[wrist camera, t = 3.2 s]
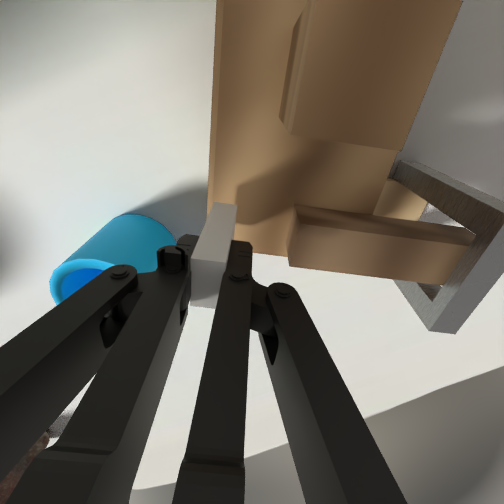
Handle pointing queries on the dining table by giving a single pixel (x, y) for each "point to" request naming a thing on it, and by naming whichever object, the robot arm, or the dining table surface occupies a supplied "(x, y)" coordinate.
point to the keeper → (474, 259)
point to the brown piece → (21, 468)
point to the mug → (111, 253)
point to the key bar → (374, 245)
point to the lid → (318, 104)
